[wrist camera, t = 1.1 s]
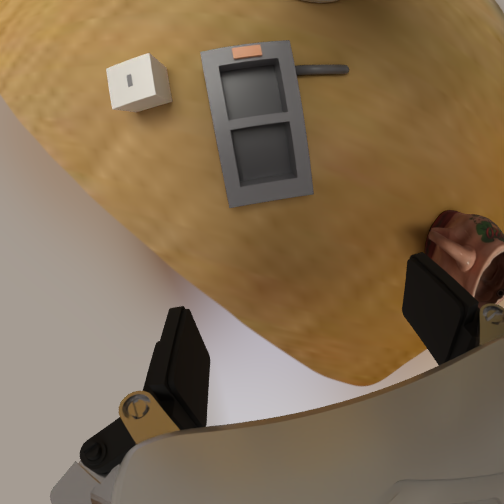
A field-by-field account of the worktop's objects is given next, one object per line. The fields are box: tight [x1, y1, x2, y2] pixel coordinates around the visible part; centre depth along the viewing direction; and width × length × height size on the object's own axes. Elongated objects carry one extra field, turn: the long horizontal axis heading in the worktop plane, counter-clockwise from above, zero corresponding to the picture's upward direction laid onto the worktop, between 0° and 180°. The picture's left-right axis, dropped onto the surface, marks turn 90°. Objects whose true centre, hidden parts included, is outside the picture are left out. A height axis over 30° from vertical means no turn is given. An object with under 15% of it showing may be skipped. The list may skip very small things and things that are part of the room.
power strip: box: [200, 40, 349, 208], centre depth 26 cm, size 17×16×4 cm
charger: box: [106, 53, 172, 112], centre depth 22 cm, size 4×4×7 cm
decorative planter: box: [425, 210, 504, 309], centre depth 29 cm, size 20×12×14 cm, turn 75°
